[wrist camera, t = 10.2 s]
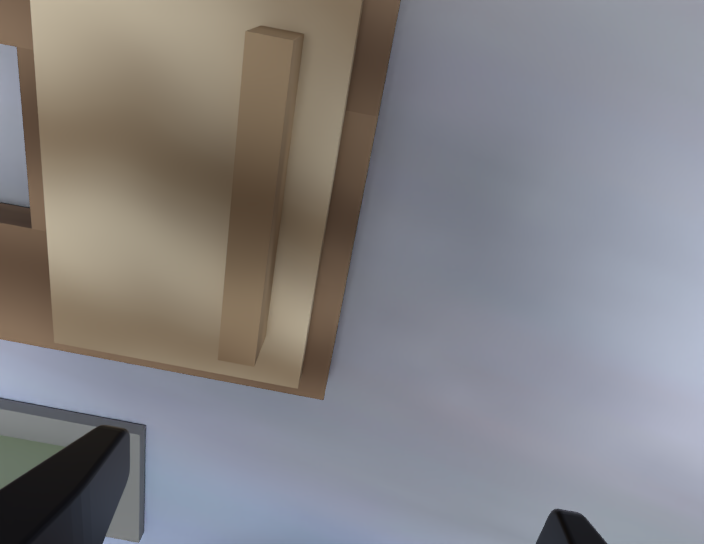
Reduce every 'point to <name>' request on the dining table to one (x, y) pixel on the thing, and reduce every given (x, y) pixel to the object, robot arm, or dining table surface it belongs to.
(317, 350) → the well board
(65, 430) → the rubber mat
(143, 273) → the sliding lid
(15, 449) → the sage block
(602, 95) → the dining table surface
